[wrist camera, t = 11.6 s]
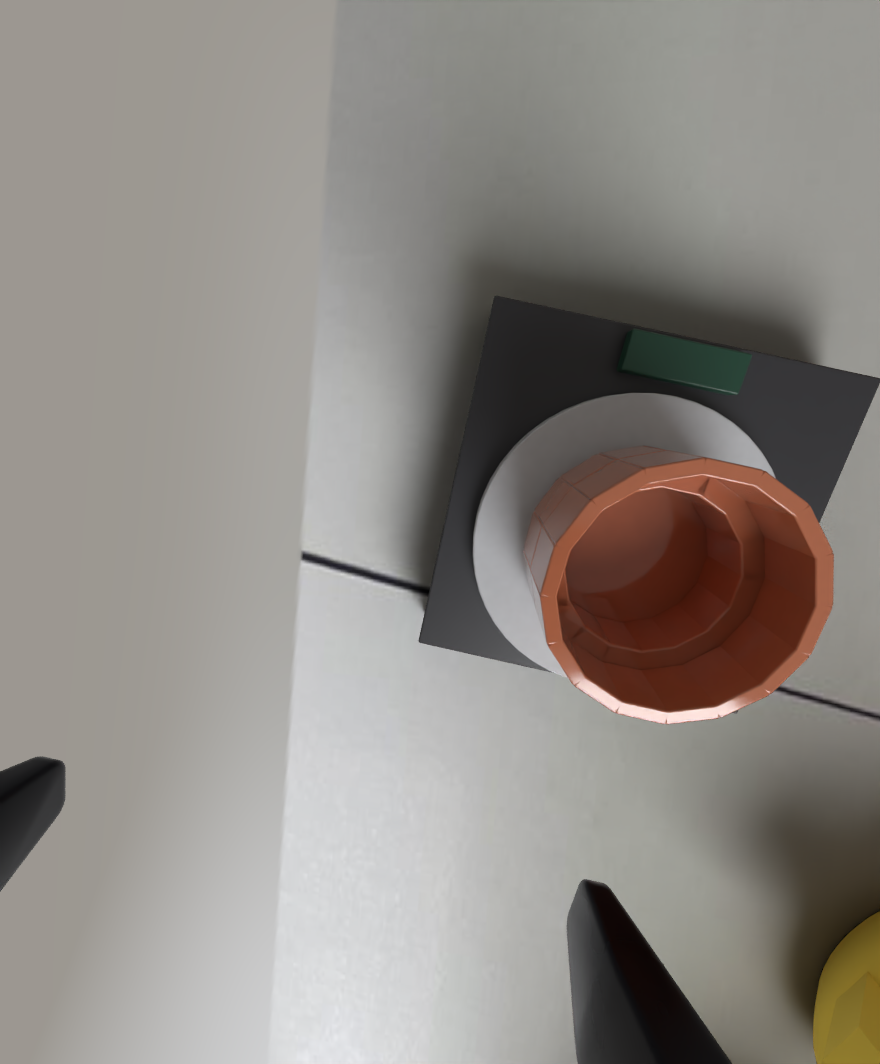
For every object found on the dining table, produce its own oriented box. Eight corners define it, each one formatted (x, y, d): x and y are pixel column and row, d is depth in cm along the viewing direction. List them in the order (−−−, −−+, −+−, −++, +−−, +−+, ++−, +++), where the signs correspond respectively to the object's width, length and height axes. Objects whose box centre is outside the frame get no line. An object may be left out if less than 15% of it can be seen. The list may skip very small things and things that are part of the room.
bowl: (501, 616, 16) (512, 690, 12) (552, 425, 15) (587, 431, 10) (689, 658, 16) (768, 748, 12) (761, 471, 15) (885, 496, 10)
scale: (424, 614, 20) (416, 650, 17) (491, 312, 17) (495, 289, 14) (704, 677, 20) (746, 725, 17) (823, 383, 17) (900, 377, 14)
